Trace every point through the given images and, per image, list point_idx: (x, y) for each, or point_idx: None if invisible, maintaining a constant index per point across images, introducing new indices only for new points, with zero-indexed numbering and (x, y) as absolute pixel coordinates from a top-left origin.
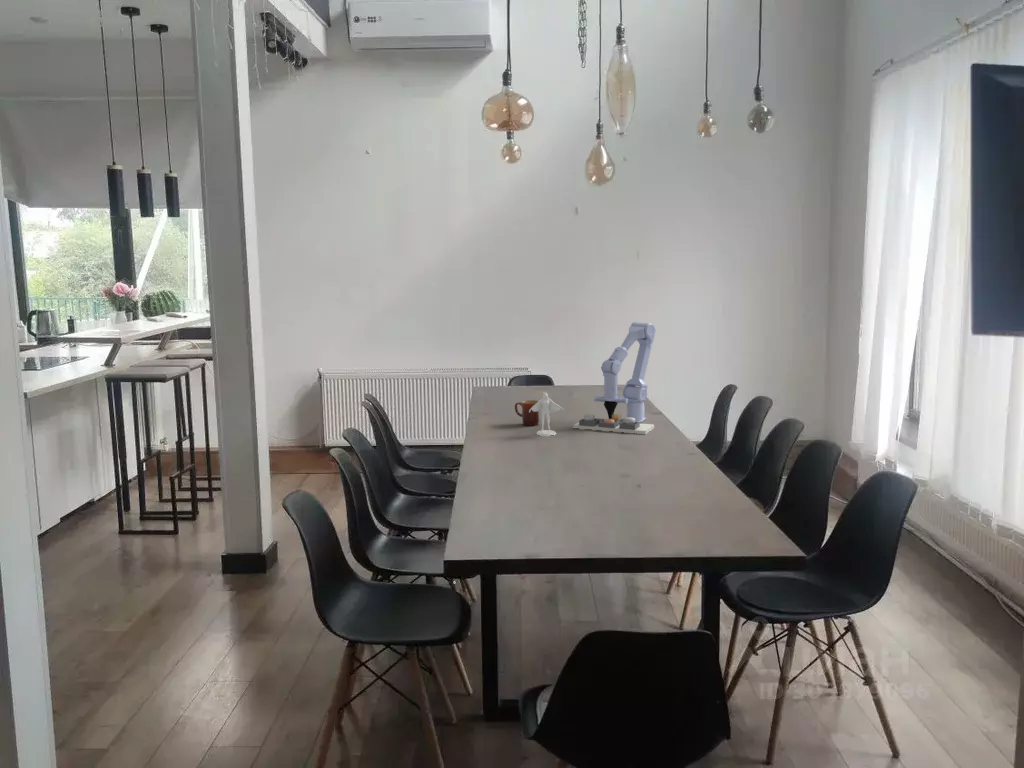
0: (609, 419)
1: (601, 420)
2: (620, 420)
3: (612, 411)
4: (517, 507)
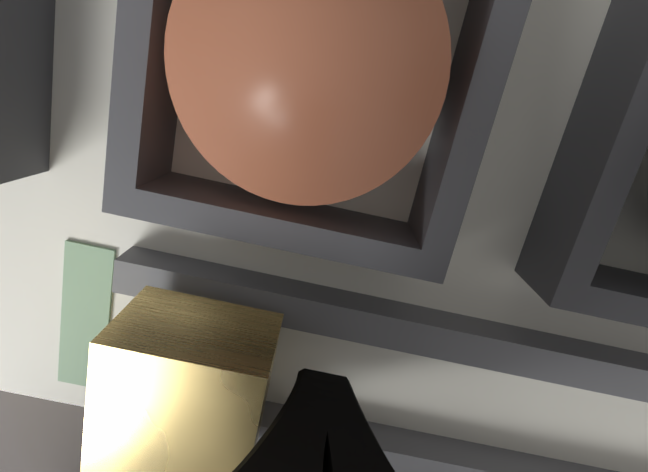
0: (305, 127)
1: (486, 363)
2: None
3: (239, 469)
4: None
